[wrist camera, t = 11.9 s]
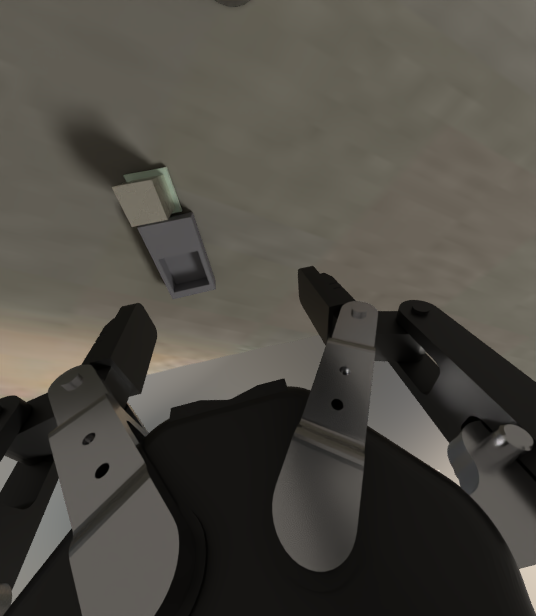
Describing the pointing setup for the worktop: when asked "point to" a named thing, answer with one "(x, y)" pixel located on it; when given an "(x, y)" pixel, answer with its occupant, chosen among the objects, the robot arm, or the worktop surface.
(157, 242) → the grey holder tray
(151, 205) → the beige rectangular block
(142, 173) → the mat
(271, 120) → the worktop surface
